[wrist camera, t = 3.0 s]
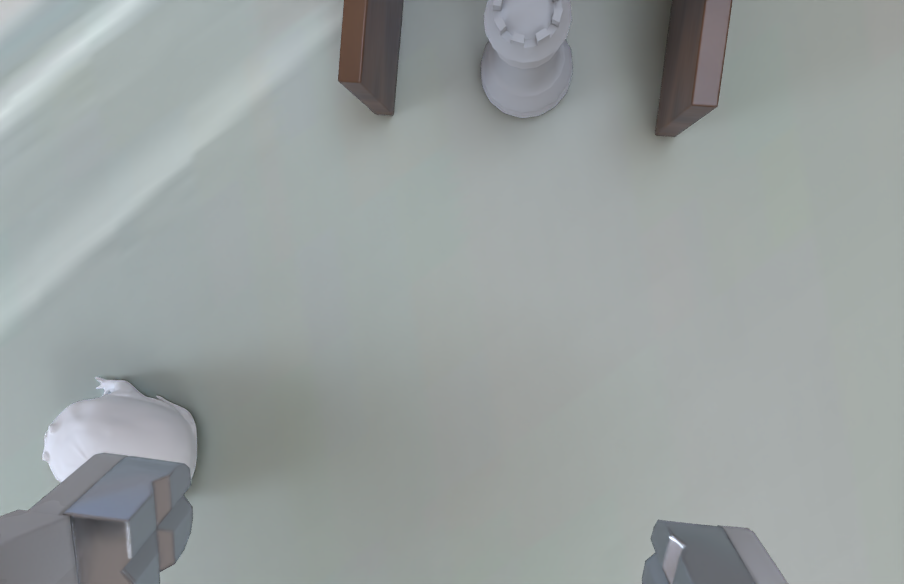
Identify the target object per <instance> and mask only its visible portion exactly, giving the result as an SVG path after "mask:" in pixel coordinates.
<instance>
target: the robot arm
mask: <svg viewBox="0 0 904 584" xmlns="http://www.w3.org/2000/svg"><path fill="white" fill-rule="evenodd" d="M190 486H191V474H190V468H189V467H188V466H187V465H186V464H185V463H178V462H171V461H164V460H157V459H150V458H143V457H136V456H127V455H120V454H111V453H99V454H95V455H93V456H92V457H91V458H90V459H89V460H87V461H86V462H85V463H84V464H83V465H81V466H80V467H79V468H78V469H77V470H75V471H74V472H73V473H72V474H71V475H70V476H68V477H67V478H66V479H65V480H64V481H62V482H61V483H60V484H59V485H58V486H56V487H55V488H54V489H53V490H52V491H50V492H49V493H48V494H47V495H46V496H45V497H43V498H42V499H41V500H40V501H39V502H37V503H36V504H35V505H34V506H33V507H31V508H30V509H29V510H28V511H26V510H16V511H13V512H11V513H8V514H5V515H3V516H0V584H160V572H161V571H163V570H165V569H166V568H168V567H170V566H172V565H174V564H175V563H176V561H177V560H178V558H179V557H180V555H181V554H182V553H183V551H184V549H185V546H186V544H187V541H188V539H189V536H190V534H191V528H192V521H193V507H192V505H191V504H190V503H189V501H188V500H187V499H186V497H185V496H184V494H185V492H186V491H187V490H188V488H189V487H190ZM651 541H652V544H653V547H654V549H655V553H654V554H653V555H652V556H651V557H649V558H648V559H647V560H646V561H645V566H644V571H643V575H642V584H788V582H787V581H786V579H785V578H784V576H783V575H782V573H781V572H780V570H779V569H778V567H777V566H776V564H775V563H774V561H773V560H772V558H771V557H770V555H769V554H768V552H767V551H766V549H765V548H764V546H763V545H762V543H761V542H760V540H759V539H758V537H757V536H756V534H755V533H754V532H753V531H751V530H750V529H748V528H742V527H731V526H720V525H718V526H710V525H701V524H692V523H683V522H674V521H665V520H658V521H657V522H656V524H655V526H654V528H653V532H652V536H651Z"/></svg>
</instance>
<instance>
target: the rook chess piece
mask: <svg viewBox="0 0 904 584" xmlns="http://www.w3.org/2000/svg"><path fill="white" fill-rule="evenodd" d="M571 22H572V12H571V2H570V0H488V2H487V6H486V9H485V13H484V25H485V34H486V35H487V37H488V39H489V42H488V43H487V44H486V47H485V50H484V54H483V57H482V60H481V78H482V87H483V89H484V91H485V93H486V94H487V96H488V98H489V100H490V102H491V103H492V104H493V105H495V106H496V107H497V108H498V109H500V110H501V111H502V112H503V113H505V114H509V115H512V116H516V117H519V118H526V117H533V116H540V115H541V114H543V113H545V112H547V111H548V110H550V109H552V108H554V107H555V106H556V105H557V104H558V103H559V101H560V100H561V99H562V98H563V96H564V95H565V94H566V93H567V91H568V87H569V84H570V81H571V78H572V75H573V72H572V69H573V65H572V53H571V48H570V46H569V45H568V43H567V41H566V38H567V35H568V32H569V28H570V25H571Z"/></svg>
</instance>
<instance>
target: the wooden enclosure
mask: <svg viewBox="0 0 904 584" xmlns="http://www.w3.org/2000/svg"><path fill="white" fill-rule="evenodd" d="M731 7H732V0H672V7H671V14H670V22H669V30H668V37H667V45H666V53H665V61H664V68H663V76H662V84H661V92H660V99H659V107H658V115H657V122H656V130H655V135H658V136H672V137H675V136H677V135H678V134H680V133H681V132H682V131H684V130H685V129H687V128H688V127H689V126H691V125H692V124H694V123H695V122H697V121H698V120H699V119H701V118H702V117H704V116H705V115H706V114H708V113H709V112H711V111H712V110H713V109H715V108H716V107H717V106H718V100H719V93H720V86H721V79H722V71H723V64H724V57H725V50H726V43H727V36H728V28H729V21H730V14H731ZM402 11H403V0H344V8H343V21H342V35H341V48H340V61H339V74H338V81H339V82H340V83H341V84H342V85H343V86H344V87H345V88H347V89H348V90H349V91H350V92H351V93H352V94H353V95H354V96H356V97H357V98H358V99H359V100H360V101H361V102H362V103H363V104H365V105H366V106H367V107H368V108H369V109H370V110H371V111H372V112H374V113H375V114H377V115H390V116H392V115H393V114H394V104H395V92H396V81H397V69H398V57H399V46H400V34H401V22H402Z"/></svg>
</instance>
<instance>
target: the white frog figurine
mask: <svg viewBox="0 0 904 584" xmlns="http://www.w3.org/2000/svg"><path fill="white" fill-rule="evenodd" d="M95 378H96V379H97V380H98V381H99V382H100V383H101V385H100V386H98V387H96V389H101V388H104V394H103V396H101V397H98V398H94V399H86V400H82V401H77V402H74V403H72V404H71V405H69V406H68V407H67V408H65V409H64V410H63V411H62V412H61V413H60V414H59V415H58V416H57V417H56V418H55V420H54V421H53V422H52V423H51V425H49V426H48V431H47V432H46V433H45V436H46V437H44V442H45V446H44V451H43V455H42V460H43V461H47V462H48V464H49V466H50V468H51V471H52V473H53V475H54V476H55V478H56V479H57V480H58V481H60V482H62V481H64V480H65V479H66V478H67V477H68V476H70V475H71V474H72V473H73V472H74V471H75V470H77V469H78V468H79V467H80V466H81V465H83V464H84V463H85V462H86V461H87V460H89V459H90V458H91V457H92V456H93V455H95V454H99V453H111V454H120V455H127V456H136V457H143V458H150V459H157V460H164V461H171V462H178V463H185V464H186V465H187V466H188V467H189V468H190V474H191V479H192V477H193V474H194V471H195V467H196V462H197V429H196V424H195V421H194V419H193V416H192V415H191V413H190V412H189V411H188V410H186V409H185V408H183V407H181V406H179V405H176V404H174V403H171V402H169V401H167V400H165V399H164V398H162V397H161V396H158V395H157V396H156V397H157V398H158V399H159V400H158V399H154V398H150V397H147V396H144V395H143V394H142V393H140V392H139V391H138V390H137V389H136V388H135V387H134V386H133V385H132V384H131V383H129V382H128V381H126V380H105V379H102V378H100V377H95ZM109 392H111V393H109ZM108 393H109V394H108Z"/></svg>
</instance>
